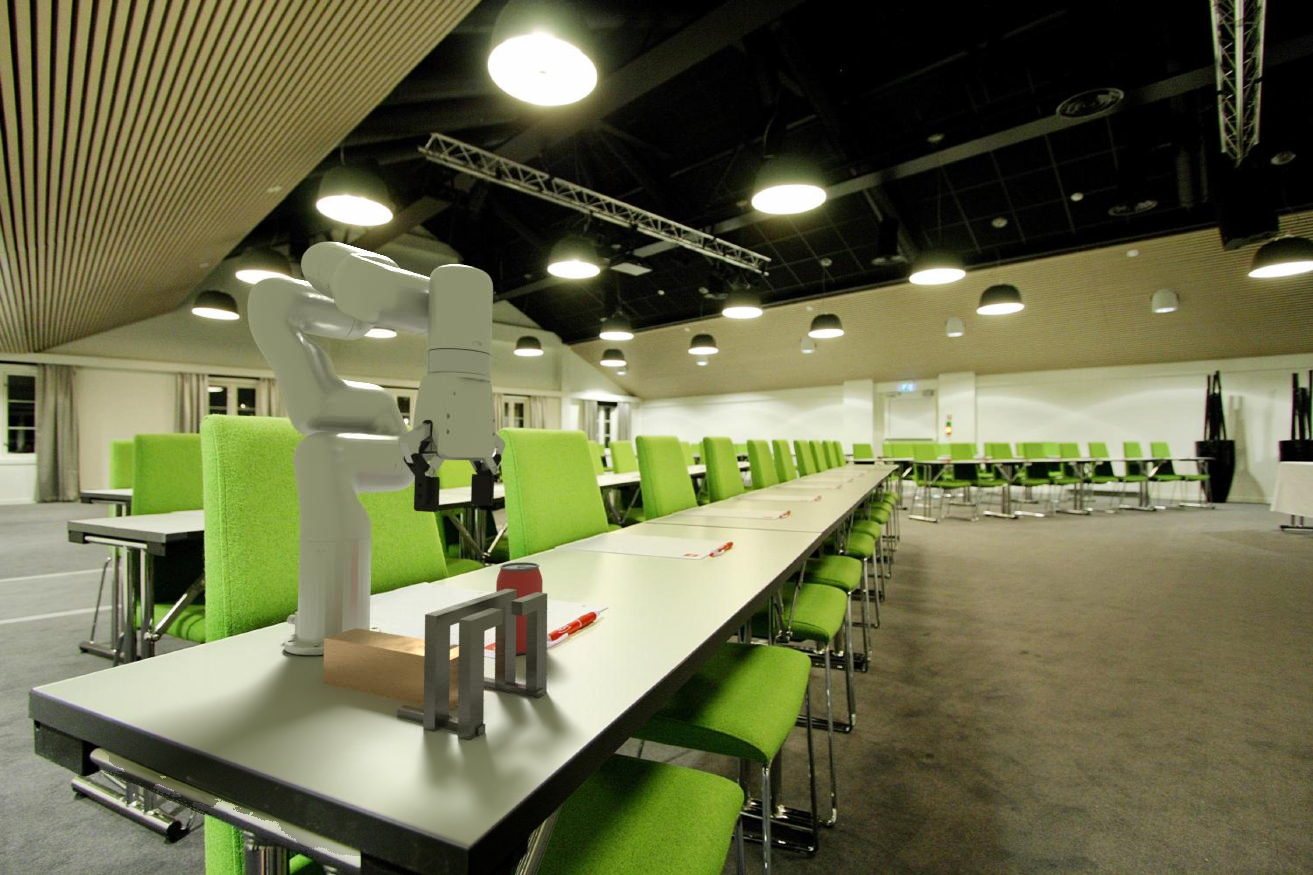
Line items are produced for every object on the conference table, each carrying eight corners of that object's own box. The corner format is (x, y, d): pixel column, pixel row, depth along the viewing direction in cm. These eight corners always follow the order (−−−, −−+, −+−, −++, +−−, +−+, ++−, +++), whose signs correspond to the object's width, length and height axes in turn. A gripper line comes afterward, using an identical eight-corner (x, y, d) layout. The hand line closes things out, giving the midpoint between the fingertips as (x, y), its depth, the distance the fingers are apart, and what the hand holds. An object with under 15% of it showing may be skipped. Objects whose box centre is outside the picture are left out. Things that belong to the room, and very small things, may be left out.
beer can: (530, 657, 80) (531, 570, 81) (486, 654, 82) (487, 568, 82) (549, 643, 87) (549, 562, 87) (508, 640, 88) (508, 560, 88)
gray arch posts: (389, 720, 61) (391, 609, 61) (474, 677, 73) (476, 585, 73) (471, 740, 56) (472, 621, 57) (548, 691, 68) (549, 593, 69)
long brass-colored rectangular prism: (323, 683, 71) (324, 637, 71) (355, 670, 75) (356, 627, 76) (448, 711, 63) (448, 660, 63) (476, 696, 67) (477, 648, 68)
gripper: (481, 379, 81) (478, 501, 81) (379, 359, 65) (374, 512, 65) (526, 377, 78) (523, 504, 78) (431, 356, 62) (426, 516, 62)
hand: (455, 507), depth 71 cm, fingers open, 9 cm apart
